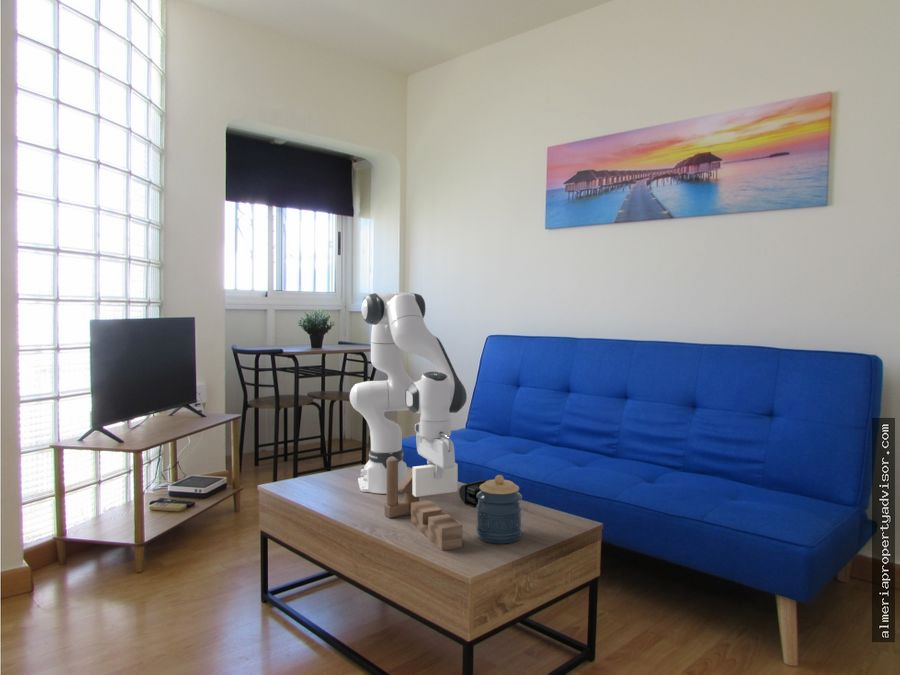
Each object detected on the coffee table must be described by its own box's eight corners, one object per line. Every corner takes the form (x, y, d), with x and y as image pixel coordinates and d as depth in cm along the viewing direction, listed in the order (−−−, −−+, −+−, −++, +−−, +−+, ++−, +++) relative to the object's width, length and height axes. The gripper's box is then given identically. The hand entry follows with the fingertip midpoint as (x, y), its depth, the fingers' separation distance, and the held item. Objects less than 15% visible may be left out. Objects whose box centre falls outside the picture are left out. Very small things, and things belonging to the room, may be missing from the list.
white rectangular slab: (453, 489, 182) (454, 462, 182) (457, 491, 180) (457, 464, 179) (412, 494, 177) (412, 466, 176) (415, 496, 174) (415, 468, 174)
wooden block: (419, 512, 197) (419, 456, 196) (389, 518, 191) (389, 461, 190) (413, 509, 200) (413, 454, 199) (384, 515, 194) (384, 458, 193)
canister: (468, 531, 181) (468, 472, 180) (507, 525, 186) (508, 467, 185) (489, 547, 169) (489, 483, 168) (530, 540, 174) (530, 478, 173)
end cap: (480, 497, 214) (480, 477, 213) (495, 502, 208) (495, 482, 208) (458, 503, 207) (458, 483, 207) (473, 508, 202) (473, 487, 201)
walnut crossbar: (410, 521, 189) (410, 502, 188) (429, 519, 191) (429, 500, 191) (441, 550, 167) (441, 528, 166) (462, 547, 169) (462, 525, 169)
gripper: (460, 435, 169) (460, 485, 170) (432, 422, 188) (432, 467, 188) (439, 436, 166) (439, 487, 167) (412, 424, 185) (412, 469, 186)
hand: (435, 477), depth 178 cm, fingers closed on white rectangular slab, 2 cm apart
